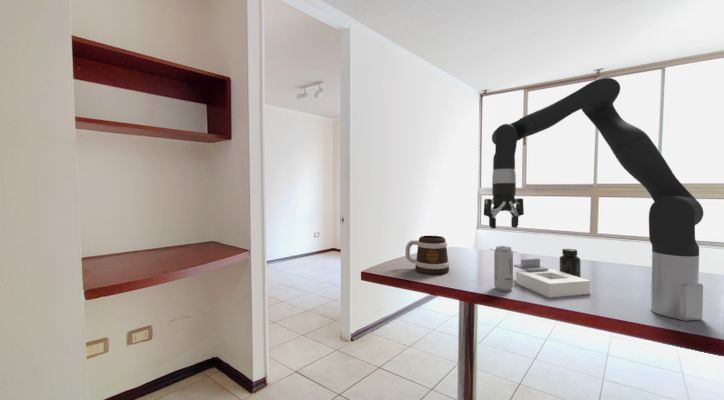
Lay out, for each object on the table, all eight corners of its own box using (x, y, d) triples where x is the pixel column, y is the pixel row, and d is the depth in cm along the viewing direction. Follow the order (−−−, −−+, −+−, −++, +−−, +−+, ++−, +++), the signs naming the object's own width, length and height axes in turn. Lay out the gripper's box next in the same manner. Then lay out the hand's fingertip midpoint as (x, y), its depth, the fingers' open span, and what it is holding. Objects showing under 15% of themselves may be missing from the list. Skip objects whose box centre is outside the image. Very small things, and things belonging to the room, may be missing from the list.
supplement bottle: (574, 277, 123) (574, 248, 122) (584, 282, 116) (585, 251, 115) (555, 277, 123) (556, 248, 123) (565, 282, 116) (565, 251, 116)
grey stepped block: (548, 270, 116) (548, 260, 116) (528, 271, 115) (529, 261, 114) (532, 265, 124) (532, 256, 124) (513, 266, 123) (513, 257, 123)
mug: (452, 268, 139) (452, 235, 138) (445, 277, 125) (445, 240, 125) (410, 264, 148) (410, 233, 148) (399, 271, 135) (399, 237, 134)
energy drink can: (510, 292, 105) (510, 249, 105) (491, 289, 109) (492, 247, 109) (514, 288, 110) (515, 247, 109) (497, 285, 114) (497, 245, 113)
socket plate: (590, 293, 103) (590, 280, 103) (549, 297, 100) (549, 283, 100) (552, 280, 119) (552, 269, 119) (516, 283, 116) (516, 271, 116)
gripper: (514, 182, 113) (514, 226, 114) (479, 182, 111) (479, 227, 111) (529, 181, 106) (528, 228, 107) (492, 181, 103) (492, 229, 104)
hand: (503, 227), depth 109 cm, fingers open, 8 cm apart
